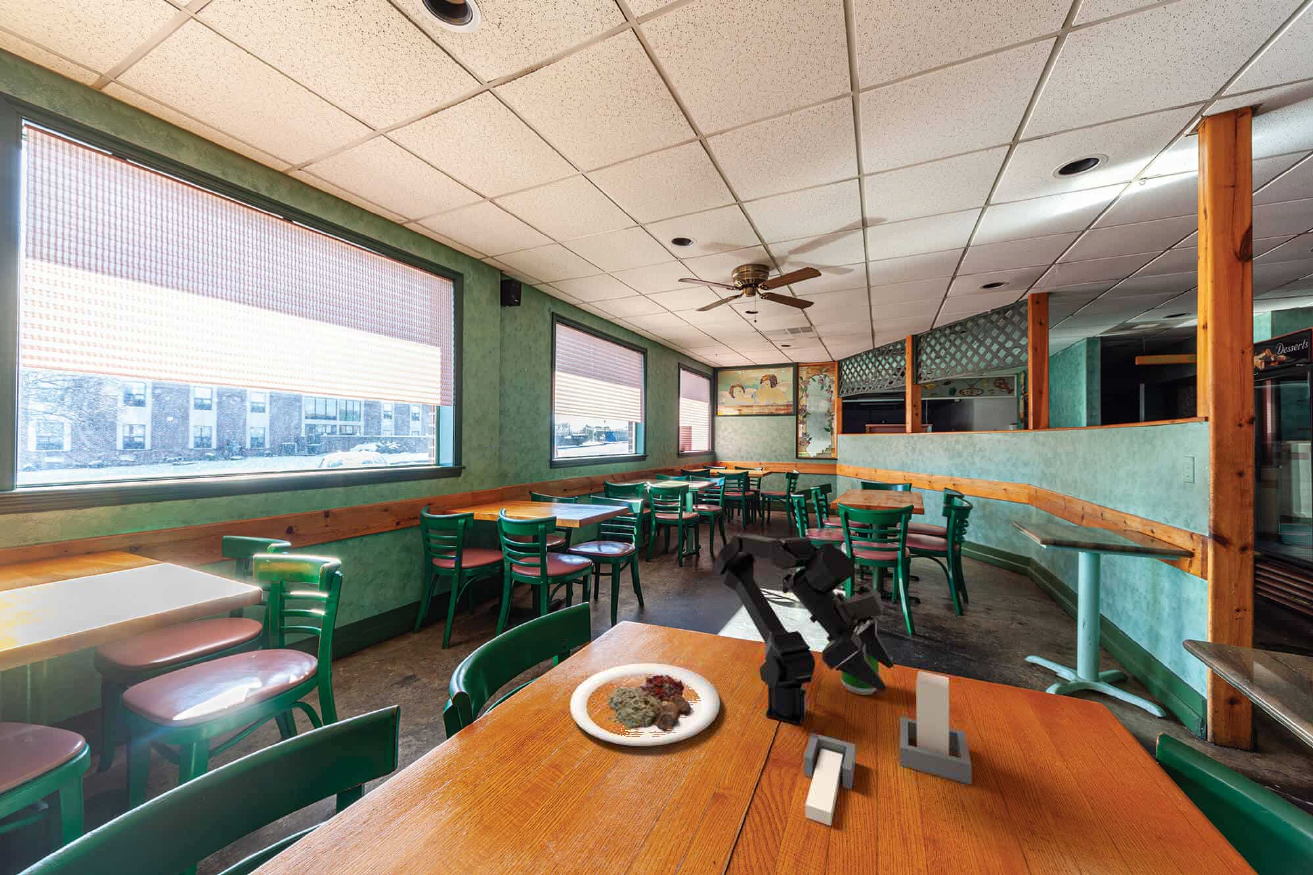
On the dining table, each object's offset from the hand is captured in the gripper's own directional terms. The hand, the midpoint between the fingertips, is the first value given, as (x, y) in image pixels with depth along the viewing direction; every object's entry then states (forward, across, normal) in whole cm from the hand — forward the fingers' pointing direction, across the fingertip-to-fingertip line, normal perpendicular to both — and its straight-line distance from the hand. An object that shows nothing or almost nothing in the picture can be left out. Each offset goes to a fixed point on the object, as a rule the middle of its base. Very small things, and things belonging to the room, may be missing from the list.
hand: (888, 677), depth 81 cm
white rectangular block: (+14, +5, +5) cm, 16 cm away
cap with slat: (+4, -12, +15) cm, 20 cm away
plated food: (-21, -8, +41) cm, 47 cm away
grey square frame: (+14, +5, +5) cm, 16 cm away
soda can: (+4, +22, +16) cm, 28 cm away
